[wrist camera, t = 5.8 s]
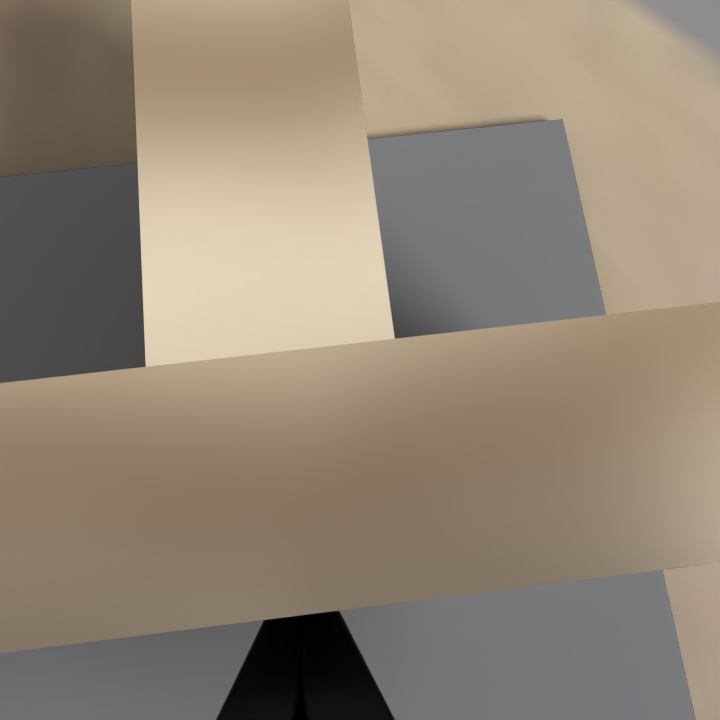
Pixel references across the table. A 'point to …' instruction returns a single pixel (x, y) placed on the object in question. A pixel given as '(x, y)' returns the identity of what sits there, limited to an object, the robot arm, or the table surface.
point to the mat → (410, 318)
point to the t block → (326, 386)
